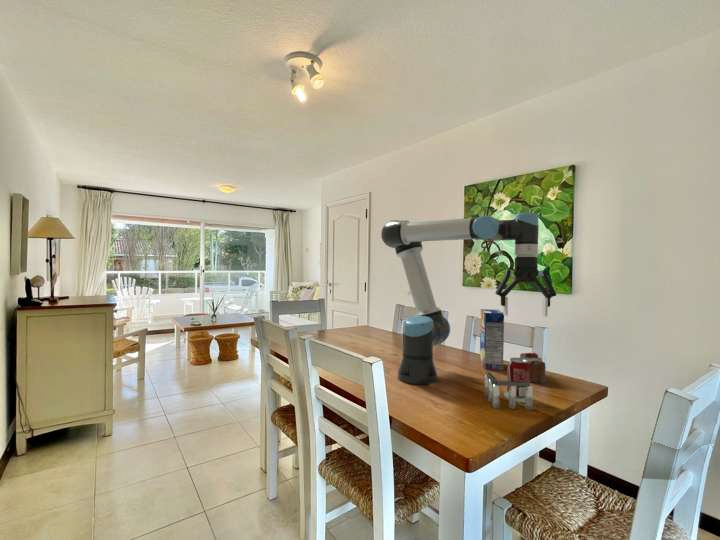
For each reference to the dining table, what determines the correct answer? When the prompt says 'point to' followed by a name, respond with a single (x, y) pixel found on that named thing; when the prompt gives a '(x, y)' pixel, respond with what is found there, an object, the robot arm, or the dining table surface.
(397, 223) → the robot arm
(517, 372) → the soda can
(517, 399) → the coaster
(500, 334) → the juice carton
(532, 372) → the food item
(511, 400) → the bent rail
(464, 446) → the dining table surface
